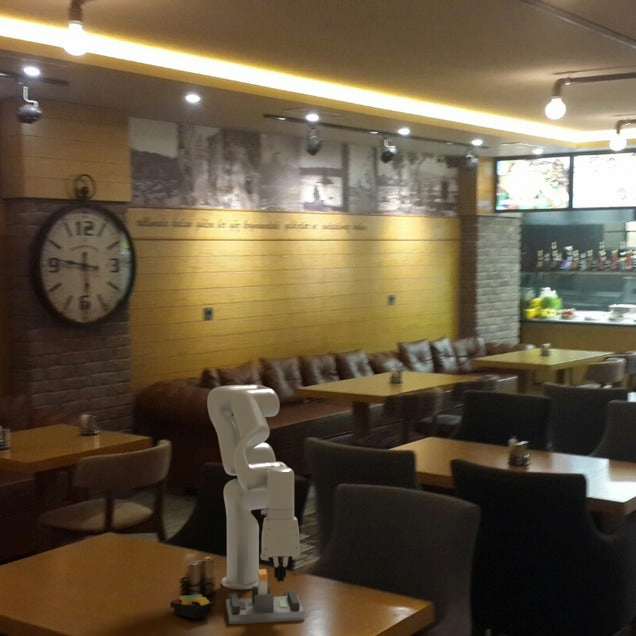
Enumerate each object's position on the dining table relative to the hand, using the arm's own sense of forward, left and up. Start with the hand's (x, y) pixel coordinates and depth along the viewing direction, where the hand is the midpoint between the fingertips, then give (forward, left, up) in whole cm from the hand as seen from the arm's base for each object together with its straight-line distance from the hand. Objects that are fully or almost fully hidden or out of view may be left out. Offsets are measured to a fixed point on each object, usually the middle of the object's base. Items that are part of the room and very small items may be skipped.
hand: (280, 580), depth 261 cm
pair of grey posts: (-4, -4, -9) cm, 11 cm away
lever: (0, -5, -6) cm, 7 cm away
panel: (0, -4, -9) cm, 10 cm away
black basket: (-2, -24, -9) cm, 26 cm away
